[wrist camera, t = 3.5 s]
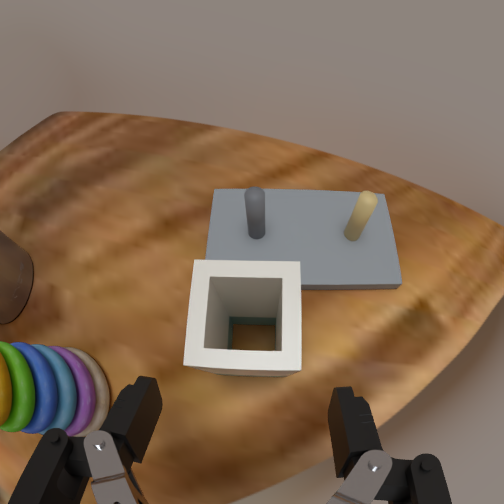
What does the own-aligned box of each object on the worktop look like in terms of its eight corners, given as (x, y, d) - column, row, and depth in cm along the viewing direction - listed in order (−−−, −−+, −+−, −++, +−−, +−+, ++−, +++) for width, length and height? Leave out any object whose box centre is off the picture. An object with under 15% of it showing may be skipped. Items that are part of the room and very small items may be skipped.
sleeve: (219, 374, 20) (183, 365, 11) (223, 313, 22) (194, 259, 13) (284, 377, 20) (301, 370, 11) (285, 315, 22) (300, 261, 13)
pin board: (205, 287, 23) (187, 253, 18) (216, 196, 27) (205, 150, 22) (396, 288, 22) (430, 257, 17) (380, 201, 26) (401, 158, 21)
